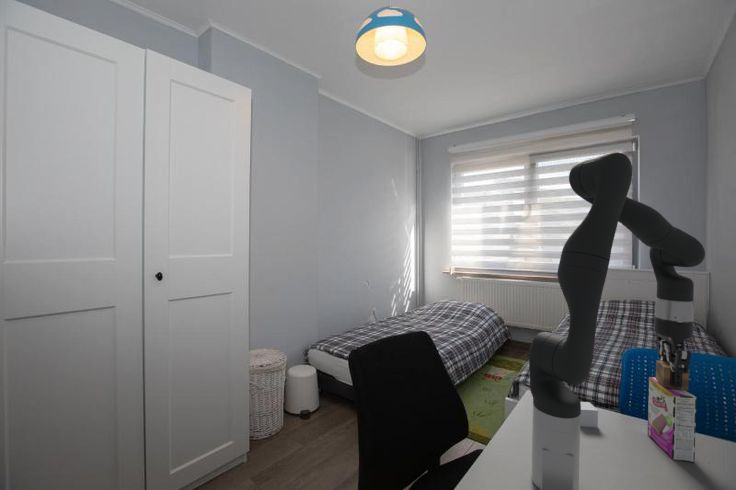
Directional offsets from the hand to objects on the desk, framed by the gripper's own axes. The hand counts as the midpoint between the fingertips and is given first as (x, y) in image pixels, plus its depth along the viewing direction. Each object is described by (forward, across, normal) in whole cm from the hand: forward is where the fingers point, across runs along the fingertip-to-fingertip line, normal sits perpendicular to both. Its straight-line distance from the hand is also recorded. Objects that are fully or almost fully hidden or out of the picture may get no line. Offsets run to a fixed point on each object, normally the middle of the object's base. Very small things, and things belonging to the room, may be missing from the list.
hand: (671, 382), depth 90 cm
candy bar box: (+18, 0, 0) cm, 18 cm away
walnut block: (+1, 0, 0) cm, 1 cm away
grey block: (+17, -6, -18) cm, 26 cm away
